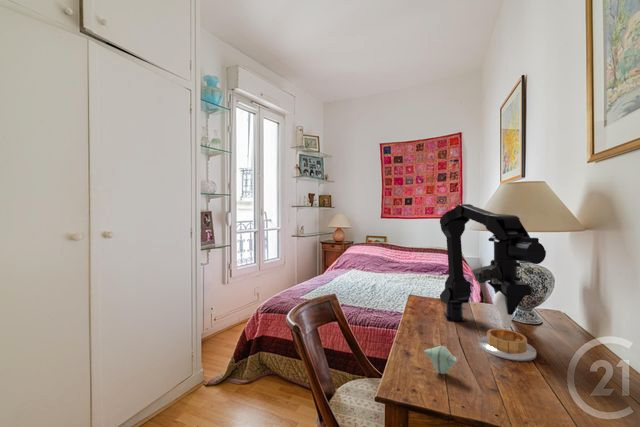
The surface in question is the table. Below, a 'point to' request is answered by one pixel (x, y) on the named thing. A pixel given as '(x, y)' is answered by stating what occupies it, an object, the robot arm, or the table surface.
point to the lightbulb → (502, 310)
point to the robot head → (441, 359)
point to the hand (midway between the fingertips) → (505, 310)
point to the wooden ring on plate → (507, 345)
